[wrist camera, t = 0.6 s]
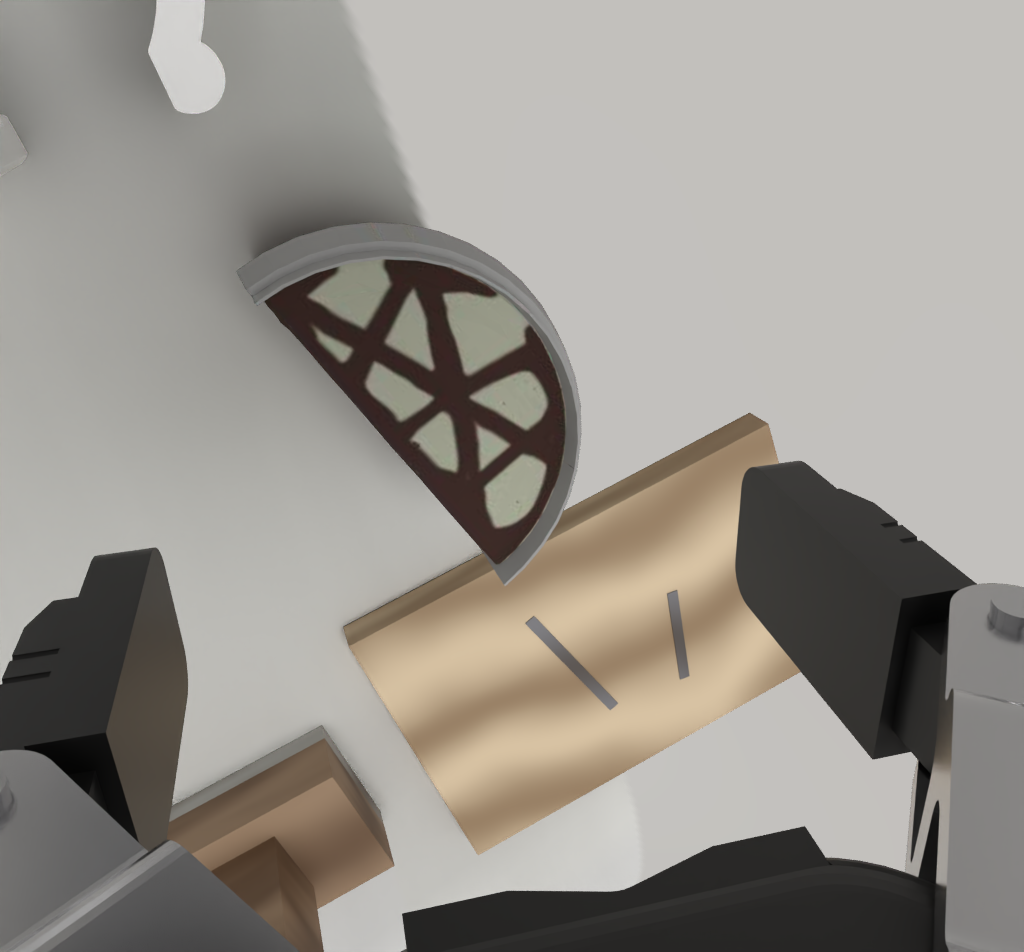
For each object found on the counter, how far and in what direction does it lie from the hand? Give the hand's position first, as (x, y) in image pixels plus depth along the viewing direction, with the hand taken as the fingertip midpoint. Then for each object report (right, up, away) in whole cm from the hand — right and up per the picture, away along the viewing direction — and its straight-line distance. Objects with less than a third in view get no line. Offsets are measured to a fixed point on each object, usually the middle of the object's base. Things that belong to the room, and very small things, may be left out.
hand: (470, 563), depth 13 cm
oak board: (+5, -6, +30) cm, 31 cm away
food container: (-3, +7, +22) cm, 23 cm away
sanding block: (-11, -14, +28) cm, 34 cm away
